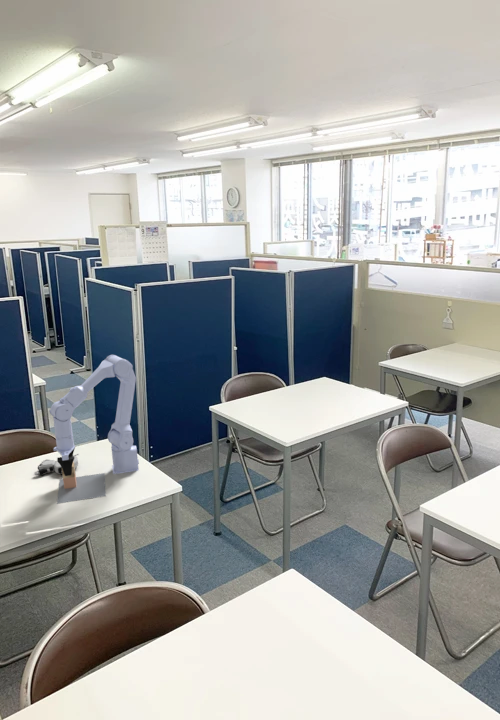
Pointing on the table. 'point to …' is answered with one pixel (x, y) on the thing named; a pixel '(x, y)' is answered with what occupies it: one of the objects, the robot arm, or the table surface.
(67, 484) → the base brick
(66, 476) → the top brick
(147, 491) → the table surface
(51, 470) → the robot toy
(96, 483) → the baseplate
